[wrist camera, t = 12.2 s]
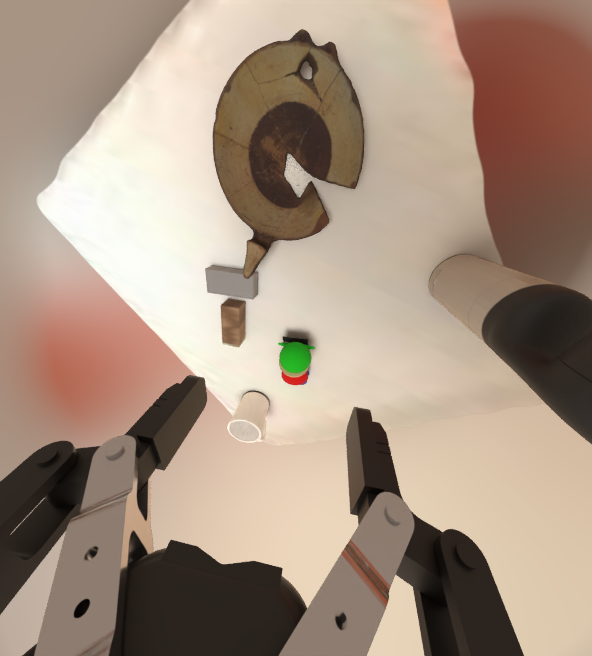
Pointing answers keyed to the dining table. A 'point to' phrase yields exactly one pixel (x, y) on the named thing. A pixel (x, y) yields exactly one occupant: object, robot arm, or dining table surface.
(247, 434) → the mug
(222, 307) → the block
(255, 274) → the hammer head
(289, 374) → the toy
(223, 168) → the oil lamp
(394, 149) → the dining table surface
